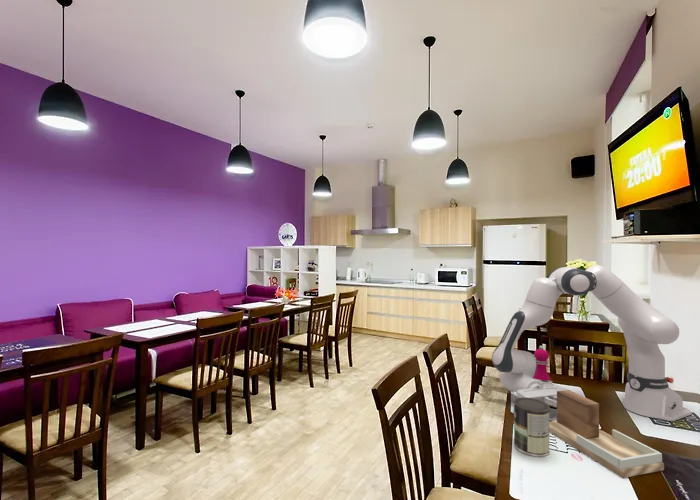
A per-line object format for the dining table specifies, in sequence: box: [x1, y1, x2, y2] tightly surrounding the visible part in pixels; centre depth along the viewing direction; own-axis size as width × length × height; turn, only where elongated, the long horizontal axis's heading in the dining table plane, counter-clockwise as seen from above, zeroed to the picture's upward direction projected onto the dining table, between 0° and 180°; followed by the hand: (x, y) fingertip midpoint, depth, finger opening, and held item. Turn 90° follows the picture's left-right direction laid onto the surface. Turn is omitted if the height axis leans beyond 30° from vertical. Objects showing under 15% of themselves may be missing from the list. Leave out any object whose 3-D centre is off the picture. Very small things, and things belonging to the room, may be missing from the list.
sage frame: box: [577, 428, 663, 470], centre depth 109 cm, size 15×14×2 cm
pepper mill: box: [533, 345, 551, 381], centre depth 163 cm, size 7×7×20 cm
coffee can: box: [513, 397, 551, 458], centre depth 115 cm, size 10×10×14 cm
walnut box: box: [556, 389, 600, 439], centre depth 123 cm, size 5×12×11 cm, turn 14°
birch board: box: [549, 420, 665, 479], centre depth 115 cm, size 15×29×2 cm, turn 14°
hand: (559, 404), depth 130 cm, fingers closed
